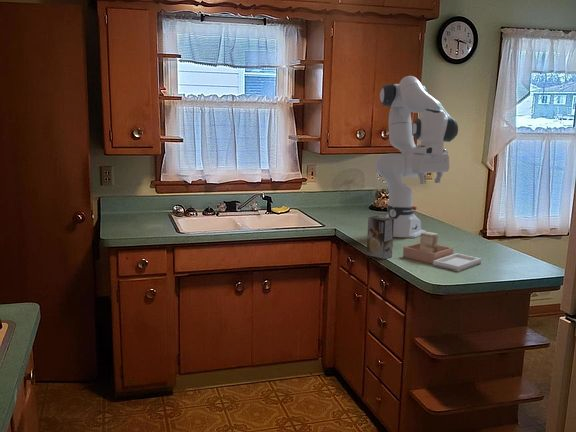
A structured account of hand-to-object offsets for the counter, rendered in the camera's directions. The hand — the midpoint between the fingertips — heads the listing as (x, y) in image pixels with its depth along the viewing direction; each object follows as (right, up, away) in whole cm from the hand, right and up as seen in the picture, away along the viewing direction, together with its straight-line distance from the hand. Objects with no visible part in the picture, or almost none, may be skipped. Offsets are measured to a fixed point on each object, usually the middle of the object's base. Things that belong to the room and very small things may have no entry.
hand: (430, 183), depth 240 cm
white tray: (+10, -32, -4) cm, 34 cm away
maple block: (+1, -30, +6) cm, 31 cm away
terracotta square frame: (+1, -30, +6) cm, 31 cm away
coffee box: (-20, -30, +7) cm, 36 cm away
